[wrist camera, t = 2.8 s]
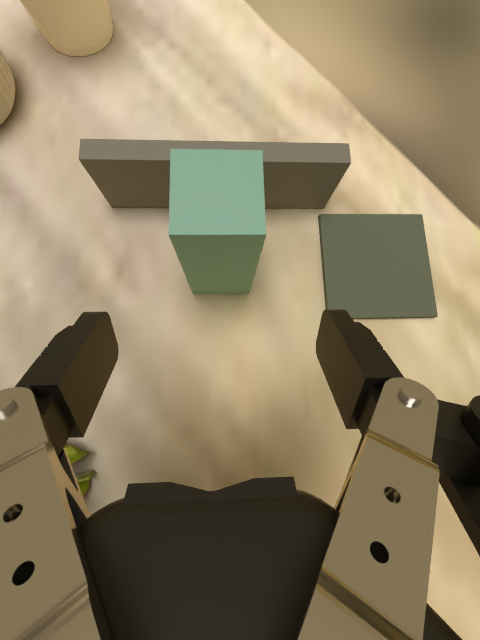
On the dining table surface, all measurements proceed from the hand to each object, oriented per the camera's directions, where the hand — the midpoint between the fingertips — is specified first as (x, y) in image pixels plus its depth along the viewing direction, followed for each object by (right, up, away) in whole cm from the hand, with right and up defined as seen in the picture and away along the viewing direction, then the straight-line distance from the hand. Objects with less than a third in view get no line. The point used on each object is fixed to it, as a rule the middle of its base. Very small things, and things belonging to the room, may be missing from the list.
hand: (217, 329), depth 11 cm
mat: (+12, +5, +13) cm, 19 cm away
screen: (-1, +12, +14) cm, 18 cm away
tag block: (-1, +5, +13) cm, 13 cm away
